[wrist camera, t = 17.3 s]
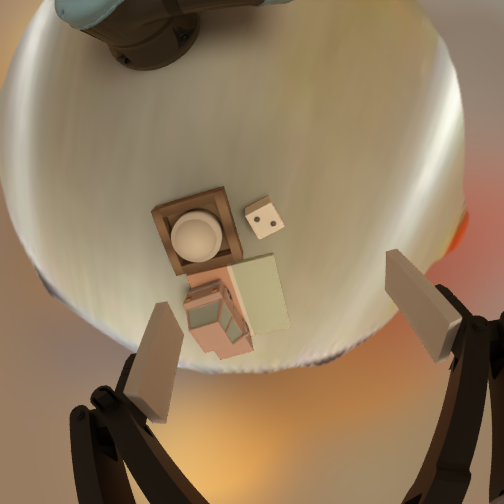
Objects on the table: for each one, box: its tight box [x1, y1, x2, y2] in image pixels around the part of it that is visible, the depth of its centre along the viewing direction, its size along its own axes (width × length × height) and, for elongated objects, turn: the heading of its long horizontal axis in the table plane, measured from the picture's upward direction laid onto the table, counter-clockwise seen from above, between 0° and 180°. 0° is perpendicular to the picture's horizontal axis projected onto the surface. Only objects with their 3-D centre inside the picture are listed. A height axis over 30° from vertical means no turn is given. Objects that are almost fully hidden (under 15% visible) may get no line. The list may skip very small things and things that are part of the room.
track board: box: [187, 253, 290, 336], centre depth 52 cm, size 17×16×1 cm
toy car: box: [183, 280, 254, 360], centre depth 48 cm, size 9×15×10 cm, turn 22°
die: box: [245, 195, 285, 240], centre depth 43 cm, size 4×4×5 cm
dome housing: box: [151, 186, 243, 276], centre depth 44 cm, size 12×12×3 cm
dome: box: [171, 208, 223, 262], centre depth 42 cm, size 8×8×7 cm
